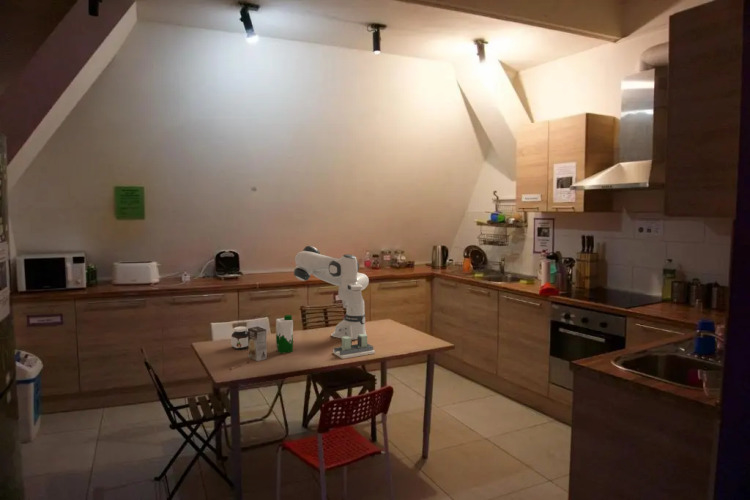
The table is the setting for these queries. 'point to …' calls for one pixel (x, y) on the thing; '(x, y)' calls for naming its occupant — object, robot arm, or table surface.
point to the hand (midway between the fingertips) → (349, 309)
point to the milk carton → (284, 334)
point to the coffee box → (257, 343)
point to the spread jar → (239, 338)
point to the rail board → (355, 349)
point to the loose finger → (346, 343)
